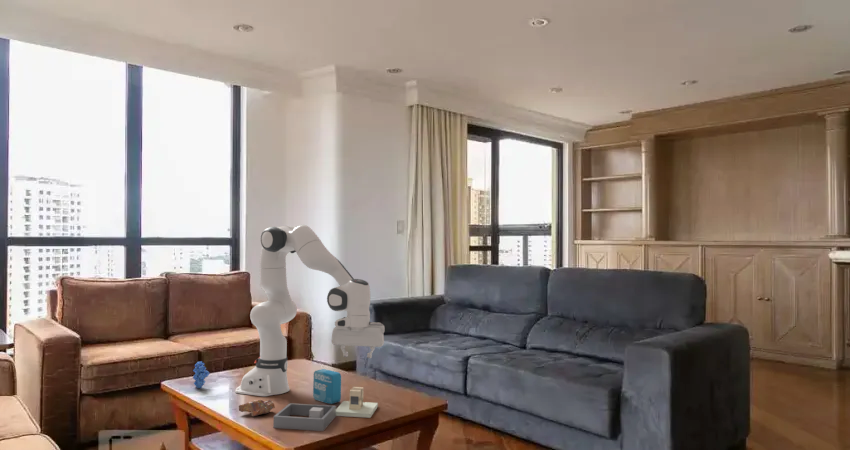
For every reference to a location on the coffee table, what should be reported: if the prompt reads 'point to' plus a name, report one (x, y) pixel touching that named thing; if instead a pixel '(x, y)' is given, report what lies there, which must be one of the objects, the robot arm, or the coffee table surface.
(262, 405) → the mineral specimen
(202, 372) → the grapes
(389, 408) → the coffee table surface
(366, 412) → the board
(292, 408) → the bin
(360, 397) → the birch box
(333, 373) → the data package
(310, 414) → the grey box
